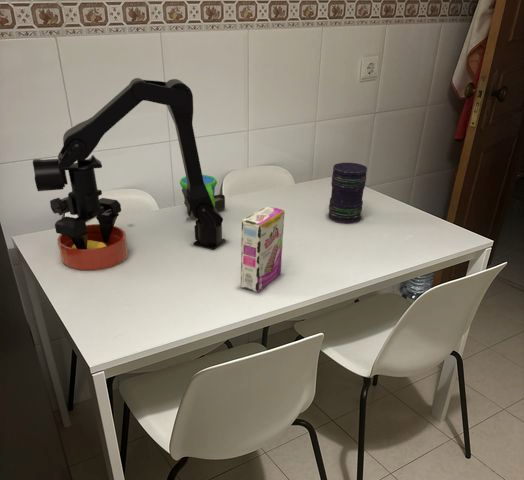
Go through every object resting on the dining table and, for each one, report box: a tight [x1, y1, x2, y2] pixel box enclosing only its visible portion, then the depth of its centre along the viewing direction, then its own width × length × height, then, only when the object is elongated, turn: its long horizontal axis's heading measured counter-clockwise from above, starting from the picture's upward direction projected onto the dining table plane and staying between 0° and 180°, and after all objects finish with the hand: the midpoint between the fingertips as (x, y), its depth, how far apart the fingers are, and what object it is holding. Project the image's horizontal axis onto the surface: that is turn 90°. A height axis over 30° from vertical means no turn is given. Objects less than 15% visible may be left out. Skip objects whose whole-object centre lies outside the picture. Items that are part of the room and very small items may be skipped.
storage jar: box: [328, 162, 368, 225], centre depth 155 cm, size 10×10×15 cm
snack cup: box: [179, 174, 218, 207], centre depth 156 cm, size 16×10×10 cm
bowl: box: [57, 223, 129, 272], centre depth 131 cm, size 16×16×6 cm
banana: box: [70, 240, 107, 249], centre depth 132 cm, size 12×4×3 cm, turn 69°
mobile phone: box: [186, 193, 226, 221], centre depth 157 cm, size 5×3×15 cm
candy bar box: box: [240, 205, 286, 293], centre depth 119 cm, size 11×5×16 cm, turn 150°
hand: (95, 249), depth 132 cm, fingers open, 9 cm apart
